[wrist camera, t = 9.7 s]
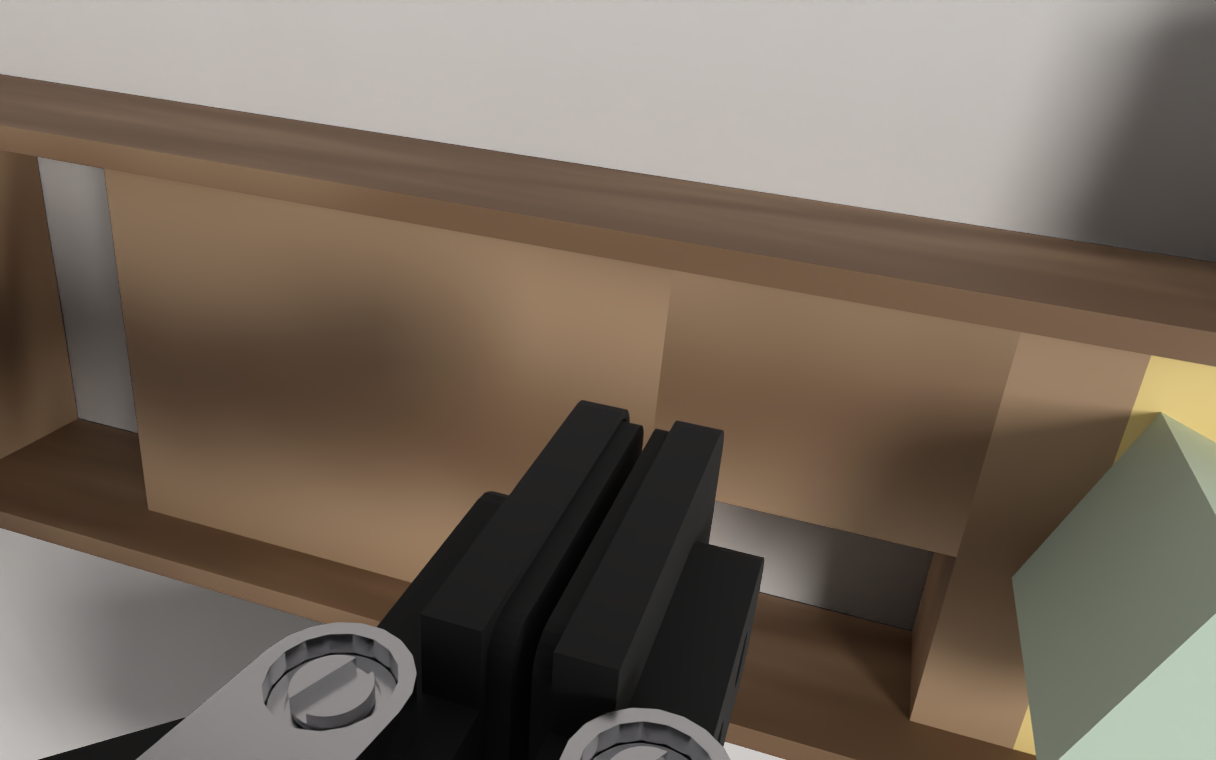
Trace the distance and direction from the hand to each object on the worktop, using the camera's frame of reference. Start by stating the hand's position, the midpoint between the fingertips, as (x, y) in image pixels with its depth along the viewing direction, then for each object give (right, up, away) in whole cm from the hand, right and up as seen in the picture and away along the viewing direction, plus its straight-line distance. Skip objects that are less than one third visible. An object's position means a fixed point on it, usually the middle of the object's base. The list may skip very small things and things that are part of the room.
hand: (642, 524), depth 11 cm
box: (-2, +2, +11) cm, 11 cm away
